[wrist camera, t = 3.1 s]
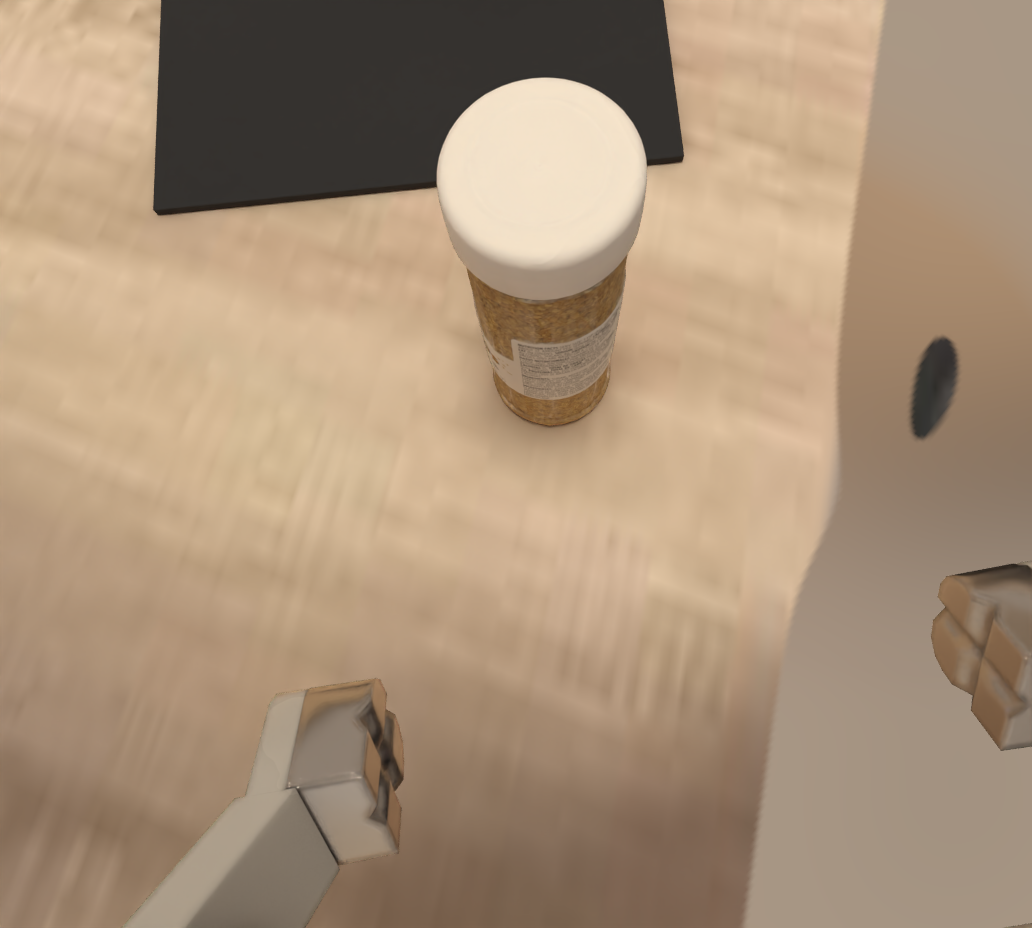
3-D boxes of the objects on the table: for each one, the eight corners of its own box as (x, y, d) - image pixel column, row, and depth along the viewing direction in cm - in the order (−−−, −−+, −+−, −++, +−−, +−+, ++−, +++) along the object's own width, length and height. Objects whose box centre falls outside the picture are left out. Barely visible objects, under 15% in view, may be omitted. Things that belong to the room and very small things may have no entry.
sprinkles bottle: (489, 323, 29) (427, 79, 16) (605, 312, 29) (637, 55, 16) (498, 435, 28) (438, 273, 15) (618, 424, 28) (663, 250, 15)
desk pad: (157, 215, 31) (152, 210, 31) (168, -77, 34) (164, -85, 34) (682, 161, 30) (684, 155, 30) (643, -134, 33) (644, -143, 33)
